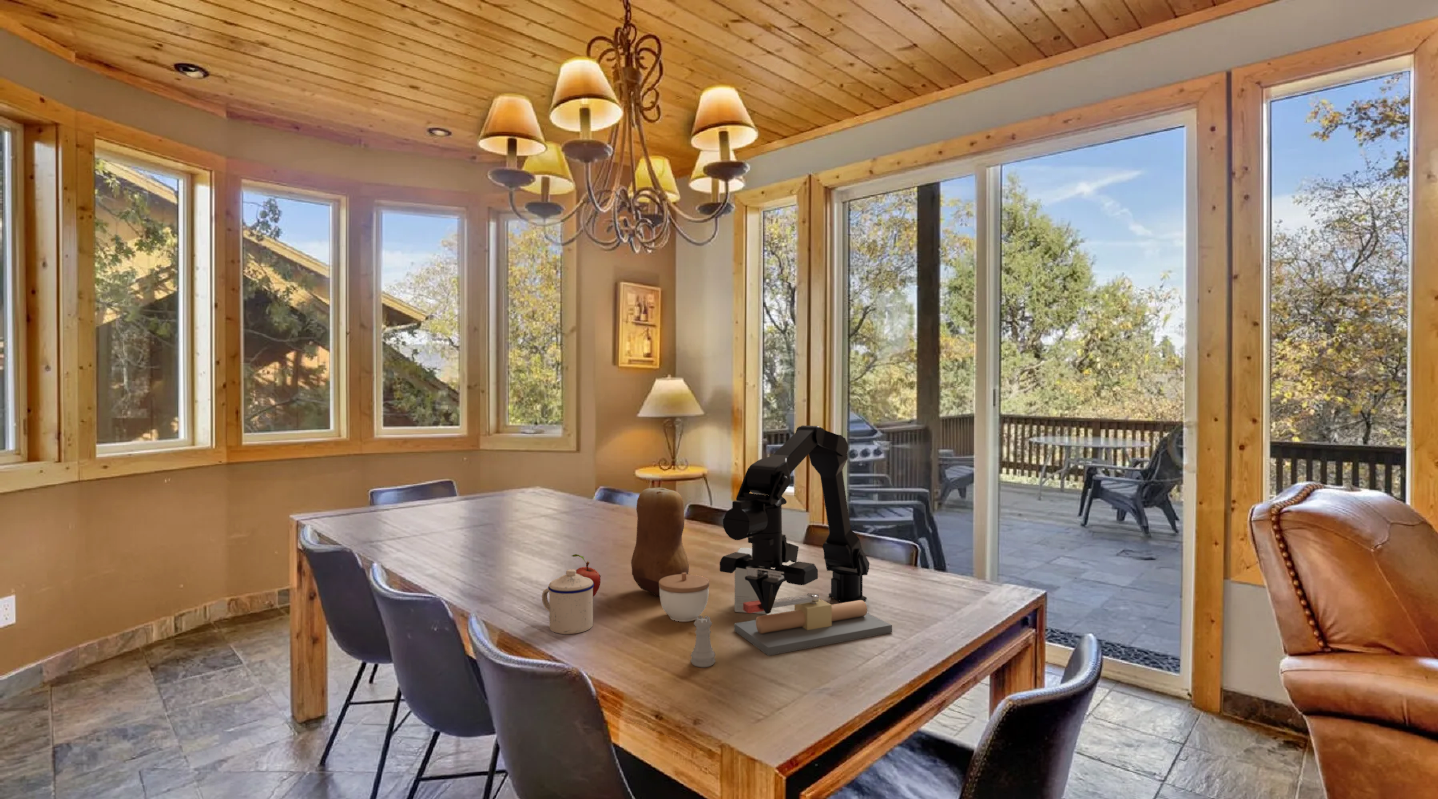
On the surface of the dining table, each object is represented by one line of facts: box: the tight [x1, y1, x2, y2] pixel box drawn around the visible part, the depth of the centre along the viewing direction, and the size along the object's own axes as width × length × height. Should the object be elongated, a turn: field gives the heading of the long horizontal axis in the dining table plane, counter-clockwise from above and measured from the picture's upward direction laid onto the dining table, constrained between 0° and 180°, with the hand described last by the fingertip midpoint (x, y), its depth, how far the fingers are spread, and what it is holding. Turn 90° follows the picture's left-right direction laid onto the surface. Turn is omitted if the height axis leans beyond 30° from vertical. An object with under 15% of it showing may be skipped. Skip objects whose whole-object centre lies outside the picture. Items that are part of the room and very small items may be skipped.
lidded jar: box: [659, 572, 710, 623], centre depth 144 cm, size 11×11×9 cm
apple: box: [571, 553, 602, 598], centre depth 157 cm, size 8×7×10 cm
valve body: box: [733, 598, 893, 657], centre depth 135 cm, size 28×14×6 cm, turn 115°
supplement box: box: [734, 547, 767, 615], centre depth 149 cm, size 7×7×13 cm
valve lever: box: [743, 592, 820, 614], centre depth 132 cm, size 16×2×1 cm, turn 115°
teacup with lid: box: [541, 568, 594, 635], centre depth 138 cm, size 12×9×12 cm
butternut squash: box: [630, 487, 690, 597], centre depth 160 cm, size 14×13×25 cm
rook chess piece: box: [690, 615, 716, 668], centre depth 119 cm, size 4×4×8 cm
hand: (768, 613), depth 128 cm, fingers closed
